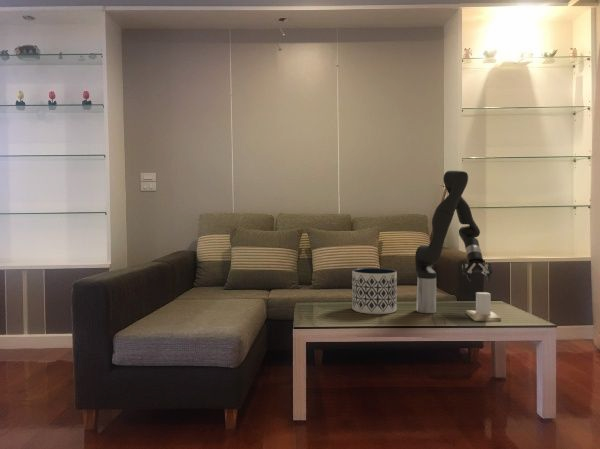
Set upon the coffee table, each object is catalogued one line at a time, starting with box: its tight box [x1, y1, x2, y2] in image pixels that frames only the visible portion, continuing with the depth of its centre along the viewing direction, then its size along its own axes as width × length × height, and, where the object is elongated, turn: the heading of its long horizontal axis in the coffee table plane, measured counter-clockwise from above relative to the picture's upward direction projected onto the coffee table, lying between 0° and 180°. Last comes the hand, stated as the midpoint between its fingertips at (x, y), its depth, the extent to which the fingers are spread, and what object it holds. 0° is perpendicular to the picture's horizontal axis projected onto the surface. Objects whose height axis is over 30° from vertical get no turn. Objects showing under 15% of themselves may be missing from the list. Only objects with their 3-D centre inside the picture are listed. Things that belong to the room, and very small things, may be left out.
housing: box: [475, 291, 492, 315], centre depth 238 cm, size 5×5×10 cm
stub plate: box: [465, 309, 502, 322], centre depth 238 cm, size 12×16×6 cm
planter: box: [351, 267, 398, 315], centre depth 254 cm, size 22×22×20 cm
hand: (479, 280), depth 245 cm, fingers open, 8 cm apart
